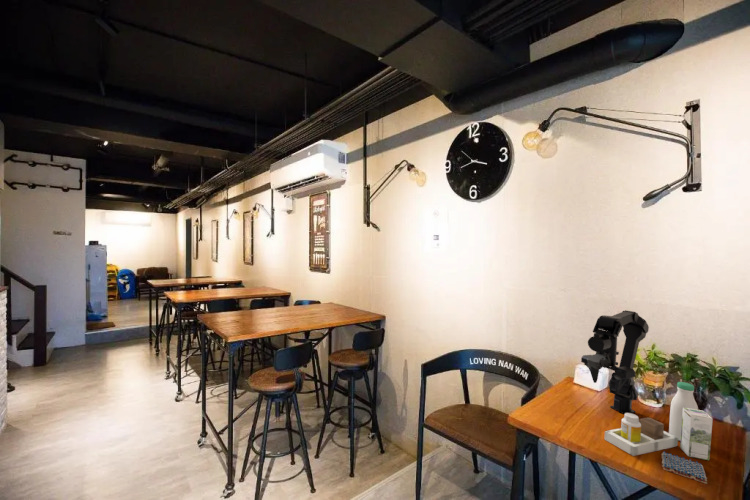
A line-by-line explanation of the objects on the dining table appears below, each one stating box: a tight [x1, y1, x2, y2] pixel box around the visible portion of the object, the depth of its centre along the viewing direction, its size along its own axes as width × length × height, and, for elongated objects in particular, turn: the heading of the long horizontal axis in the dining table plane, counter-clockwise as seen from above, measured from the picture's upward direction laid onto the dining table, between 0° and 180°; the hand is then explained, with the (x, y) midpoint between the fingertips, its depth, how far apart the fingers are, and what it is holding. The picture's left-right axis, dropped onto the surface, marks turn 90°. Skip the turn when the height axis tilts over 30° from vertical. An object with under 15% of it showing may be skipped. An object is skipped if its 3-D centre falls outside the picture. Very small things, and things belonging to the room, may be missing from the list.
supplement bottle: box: [620, 413, 641, 444], centre depth 121 cm, size 6×6×10 cm
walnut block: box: [639, 417, 665, 440], centre depth 124 cm, size 5×5×7 cm
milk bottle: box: [668, 381, 699, 442], centre depth 127 cm, size 8×8×20 cm
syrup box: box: [679, 408, 713, 461], centre depth 117 cm, size 6×6×14 cm
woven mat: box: [660, 450, 708, 485], centre depth 109 cm, size 10×11×2 cm
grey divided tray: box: [603, 427, 679, 457], centre depth 123 cm, size 22×10×3 cm, turn 109°
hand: (605, 387), depth 139 cm, fingers open, 9 cm apart
